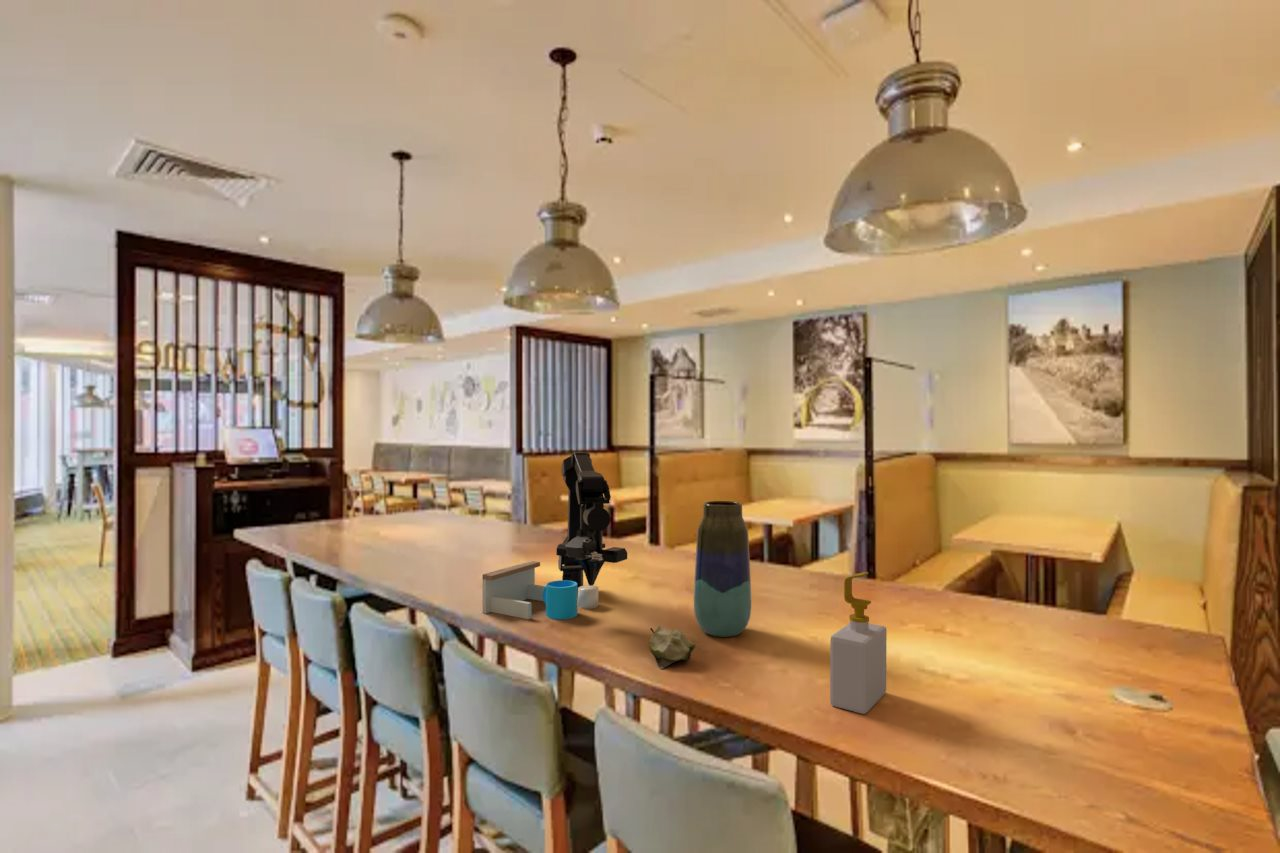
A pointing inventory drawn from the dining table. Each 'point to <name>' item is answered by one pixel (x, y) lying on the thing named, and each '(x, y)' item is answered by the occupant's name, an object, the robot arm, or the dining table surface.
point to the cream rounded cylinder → (587, 597)
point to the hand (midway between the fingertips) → (591, 585)
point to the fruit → (669, 646)
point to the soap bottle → (857, 658)
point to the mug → (560, 599)
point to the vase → (722, 570)
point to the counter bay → (511, 590)
